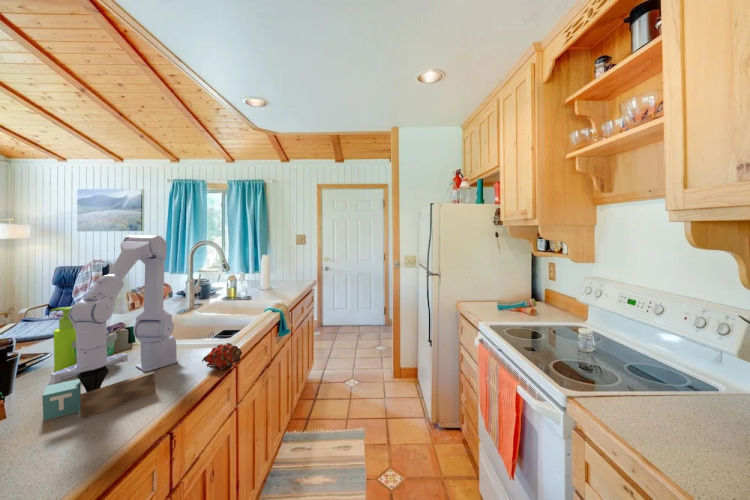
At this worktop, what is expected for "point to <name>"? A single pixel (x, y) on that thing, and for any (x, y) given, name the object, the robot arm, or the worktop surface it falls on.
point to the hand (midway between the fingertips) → (92, 397)
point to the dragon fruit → (223, 356)
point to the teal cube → (61, 399)
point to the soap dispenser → (64, 342)
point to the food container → (110, 344)
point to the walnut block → (116, 394)
